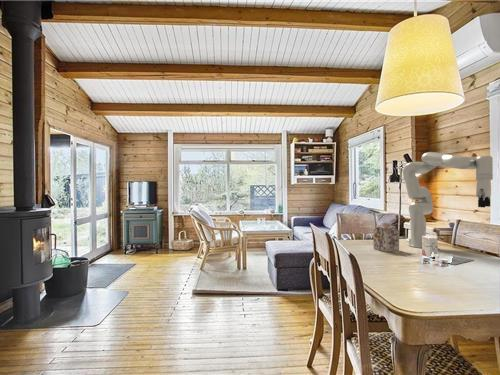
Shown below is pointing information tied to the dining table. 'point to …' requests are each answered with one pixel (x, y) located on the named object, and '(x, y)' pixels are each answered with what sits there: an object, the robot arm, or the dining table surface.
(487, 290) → the dining table surface
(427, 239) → the ink cartridge box
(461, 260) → the mat
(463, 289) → the dining table surface
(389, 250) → the decorative jar
